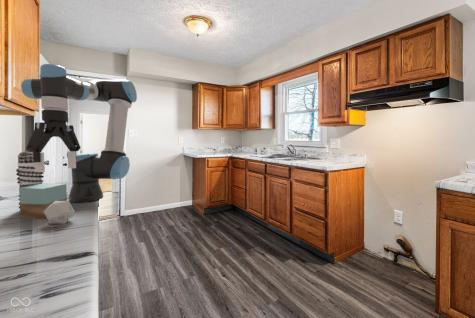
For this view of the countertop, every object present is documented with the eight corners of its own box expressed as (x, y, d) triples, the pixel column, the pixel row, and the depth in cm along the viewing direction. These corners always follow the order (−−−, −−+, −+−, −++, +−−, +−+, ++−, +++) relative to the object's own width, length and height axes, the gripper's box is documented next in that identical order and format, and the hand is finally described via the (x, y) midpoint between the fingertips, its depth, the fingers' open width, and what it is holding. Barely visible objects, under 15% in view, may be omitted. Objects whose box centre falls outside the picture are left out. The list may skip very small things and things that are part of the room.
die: (51, 230, 84) (70, 205, 87) (32, 216, 85) (52, 193, 88) (66, 230, 92) (84, 208, 94) (49, 218, 93) (67, 196, 96)
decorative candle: (50, 208, 109) (47, 151, 107) (24, 213, 101) (21, 152, 99) (39, 205, 113) (36, 151, 111) (14, 210, 105) (10, 152, 103)
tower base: (44, 211, 105) (44, 197, 105) (67, 212, 104) (66, 198, 104) (20, 218, 95) (19, 203, 95) (45, 219, 94) (44, 204, 93)
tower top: (44, 197, 105) (44, 183, 105) (66, 198, 104) (66, 184, 103) (19, 203, 95) (19, 187, 94) (44, 204, 93) (43, 188, 93)
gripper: (72, 114, 100) (74, 166, 101) (9, 104, 75) (12, 173, 77) (89, 114, 99) (91, 166, 100) (31, 104, 74) (34, 174, 76)
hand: (57, 170), depth 89 cm, fingers open, 13 cm apart
